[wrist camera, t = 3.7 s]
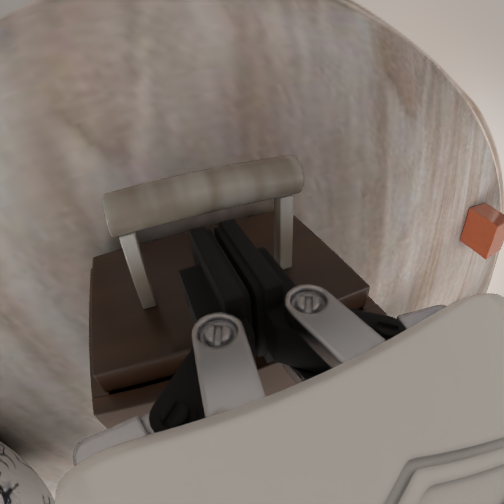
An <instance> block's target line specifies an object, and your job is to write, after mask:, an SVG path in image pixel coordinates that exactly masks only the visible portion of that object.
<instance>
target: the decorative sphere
mask: <svg viewBox="0 0 504 504" xmlns="http://www.w3.org/2000/svg"><path fill="white" fill-rule="evenodd" d="M0 504H55V501H54V499H53V497H52V495H51V493H50V492H49V490H48V488H47V487H46V485H45V484H44V482H43V481H42V479H41V478H40V477H39V476H38V474H37V473H36V472H35V471H34V470H33V469H32V468H31V467H30V466H29V465H28V464H27V463H26V462H25V461H24V460H23V459H22V458H21V457H20V456H19V455H18V454H17V453H16V452H14V451H13V450H12V449H10V448H9V447H8V446H6V445H5V444H3V443H2V442H0Z"/></svg>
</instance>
